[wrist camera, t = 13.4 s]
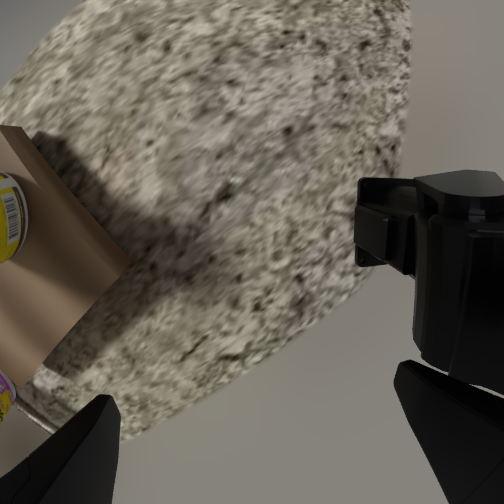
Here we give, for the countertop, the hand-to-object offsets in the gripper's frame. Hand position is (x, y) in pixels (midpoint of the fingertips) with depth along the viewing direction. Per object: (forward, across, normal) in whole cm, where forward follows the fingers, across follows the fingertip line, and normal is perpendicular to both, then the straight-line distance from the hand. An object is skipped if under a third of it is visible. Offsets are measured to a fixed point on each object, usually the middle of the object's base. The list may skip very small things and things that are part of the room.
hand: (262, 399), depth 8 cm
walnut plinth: (+13, +17, -1) cm, 21 cm away
